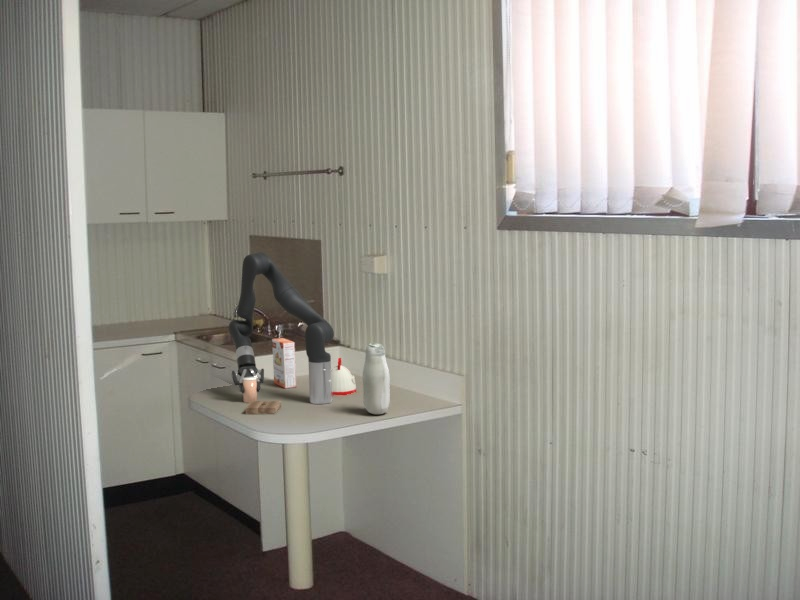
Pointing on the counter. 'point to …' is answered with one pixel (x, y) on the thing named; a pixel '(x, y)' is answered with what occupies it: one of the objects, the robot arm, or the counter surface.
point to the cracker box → (284, 363)
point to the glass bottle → (376, 380)
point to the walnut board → (263, 407)
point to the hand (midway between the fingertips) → (250, 391)
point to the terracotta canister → (250, 389)
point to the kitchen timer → (342, 380)
